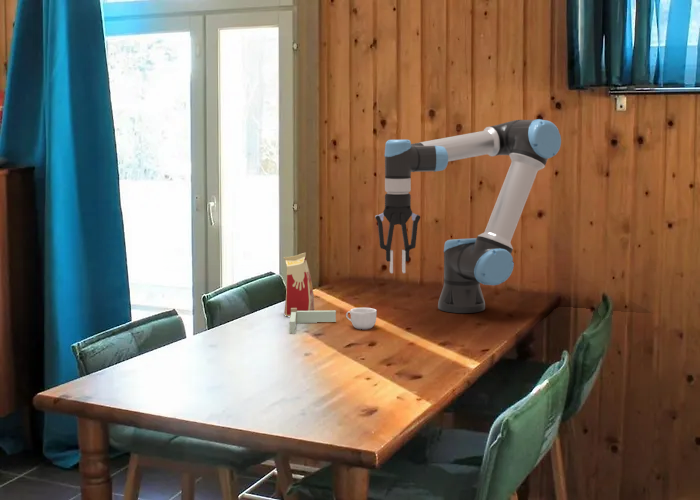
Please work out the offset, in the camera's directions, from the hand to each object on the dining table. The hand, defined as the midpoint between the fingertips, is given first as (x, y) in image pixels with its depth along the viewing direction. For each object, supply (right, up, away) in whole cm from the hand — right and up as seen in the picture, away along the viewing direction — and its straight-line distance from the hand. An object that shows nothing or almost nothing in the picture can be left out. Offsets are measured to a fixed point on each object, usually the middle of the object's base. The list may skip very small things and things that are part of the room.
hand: (397, 272), depth 264 cm
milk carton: (-30, -14, +20) cm, 39 cm away
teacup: (-11, -17, +2) cm, 20 cm away
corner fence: (-25, -16, +2) cm, 30 cm away
